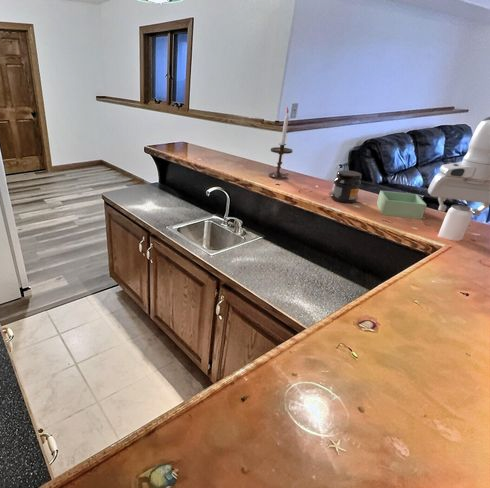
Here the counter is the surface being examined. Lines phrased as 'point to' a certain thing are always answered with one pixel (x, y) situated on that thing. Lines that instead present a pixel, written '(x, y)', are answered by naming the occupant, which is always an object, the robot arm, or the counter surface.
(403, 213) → the box
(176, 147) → the counter surface
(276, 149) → the candlestick
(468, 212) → the can
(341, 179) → the supplement container
